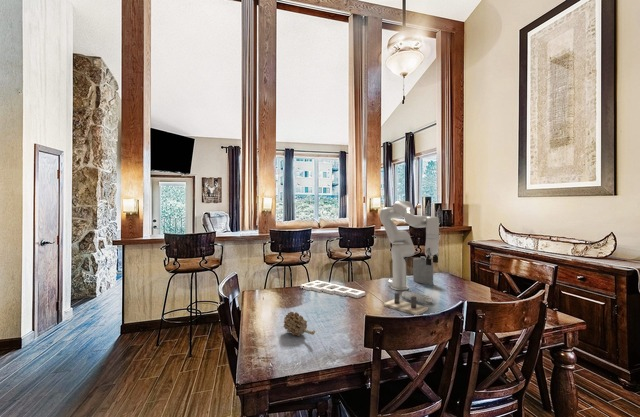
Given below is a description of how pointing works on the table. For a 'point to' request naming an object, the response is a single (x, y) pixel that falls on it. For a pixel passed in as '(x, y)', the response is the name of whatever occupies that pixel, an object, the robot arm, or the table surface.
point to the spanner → (417, 297)
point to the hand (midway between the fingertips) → (432, 263)
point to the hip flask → (422, 271)
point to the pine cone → (296, 324)
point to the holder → (327, 288)
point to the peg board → (405, 305)
